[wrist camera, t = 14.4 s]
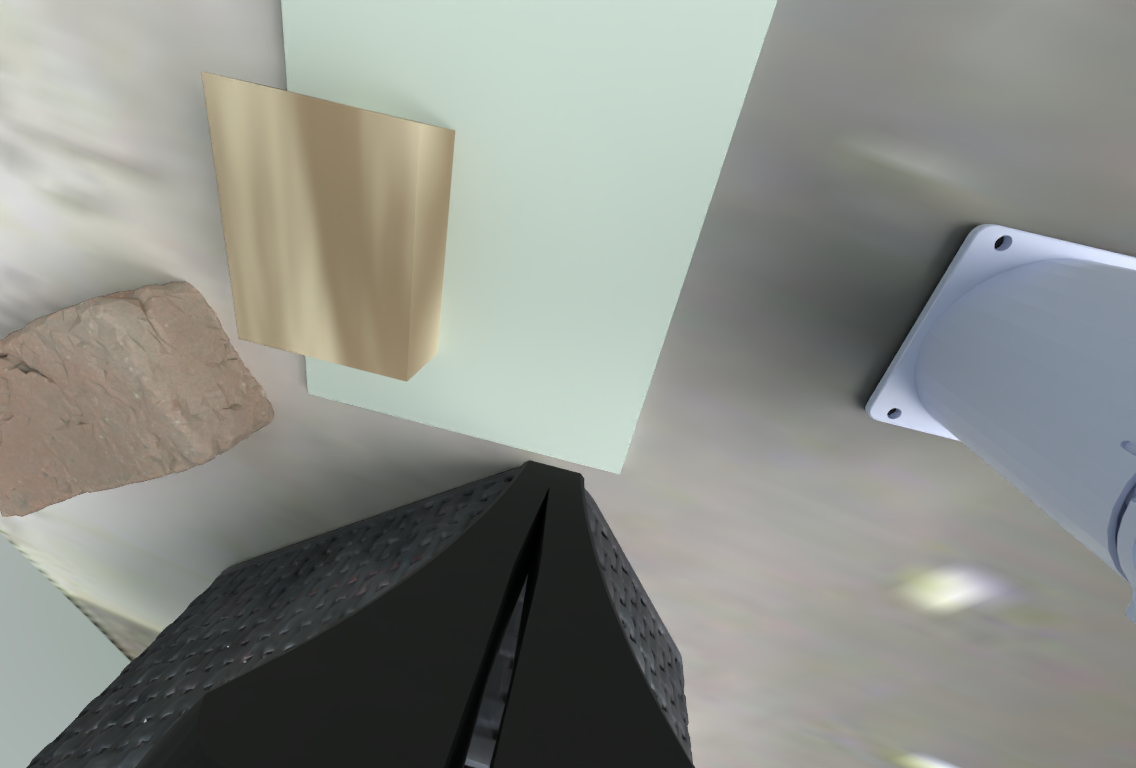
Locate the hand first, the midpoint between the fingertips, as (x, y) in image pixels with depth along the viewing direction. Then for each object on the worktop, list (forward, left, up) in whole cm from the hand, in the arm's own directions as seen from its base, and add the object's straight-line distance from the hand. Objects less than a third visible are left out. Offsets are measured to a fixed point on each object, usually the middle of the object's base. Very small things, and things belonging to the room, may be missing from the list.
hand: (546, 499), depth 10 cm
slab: (+7, -3, -8) cm, 11 cm away
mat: (+5, -4, -10) cm, 12 cm away
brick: (+24, +9, -11) cm, 28 cm away
